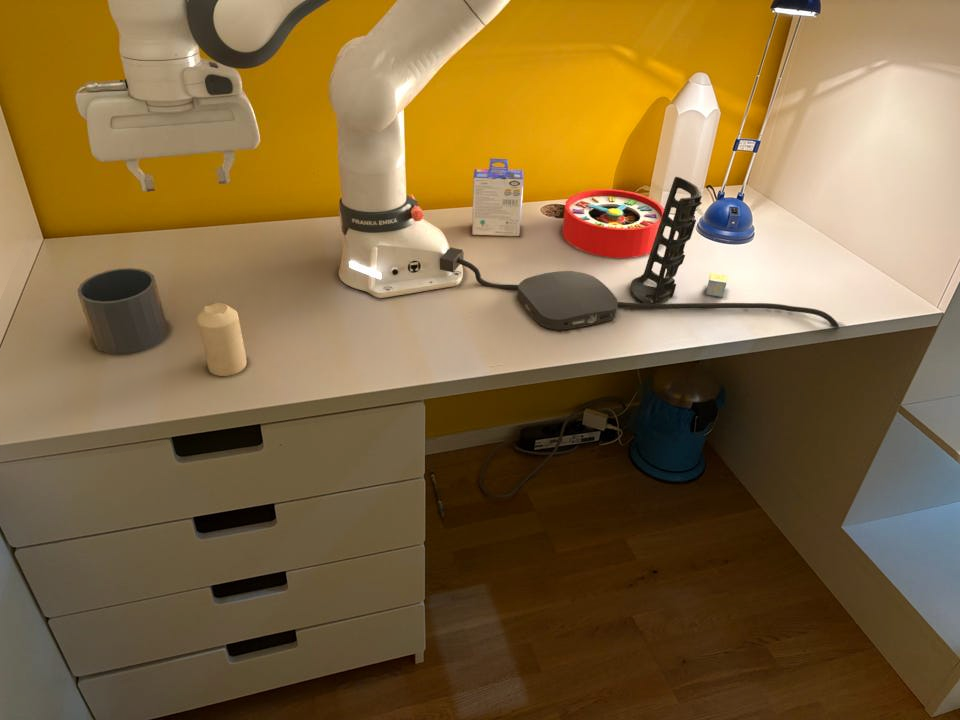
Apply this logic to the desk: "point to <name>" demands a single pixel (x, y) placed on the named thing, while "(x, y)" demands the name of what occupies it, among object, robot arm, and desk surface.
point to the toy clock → (611, 222)
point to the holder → (669, 245)
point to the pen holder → (123, 310)
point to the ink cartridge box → (497, 200)
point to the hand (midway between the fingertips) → (187, 186)
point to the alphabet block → (716, 285)
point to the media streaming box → (567, 299)
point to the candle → (222, 339)
